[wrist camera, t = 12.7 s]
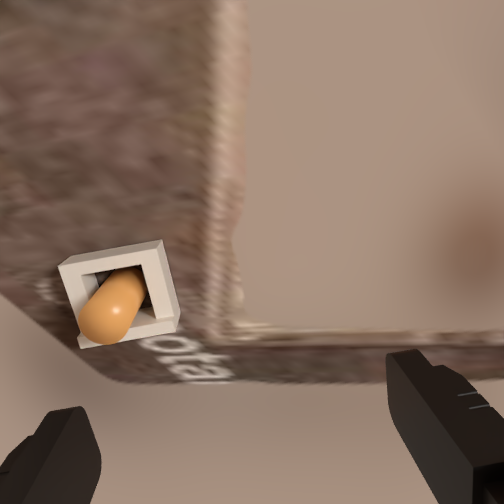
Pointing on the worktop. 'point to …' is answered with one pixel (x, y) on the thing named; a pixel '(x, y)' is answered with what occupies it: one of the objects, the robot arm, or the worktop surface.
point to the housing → (147, 254)
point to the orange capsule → (113, 306)
